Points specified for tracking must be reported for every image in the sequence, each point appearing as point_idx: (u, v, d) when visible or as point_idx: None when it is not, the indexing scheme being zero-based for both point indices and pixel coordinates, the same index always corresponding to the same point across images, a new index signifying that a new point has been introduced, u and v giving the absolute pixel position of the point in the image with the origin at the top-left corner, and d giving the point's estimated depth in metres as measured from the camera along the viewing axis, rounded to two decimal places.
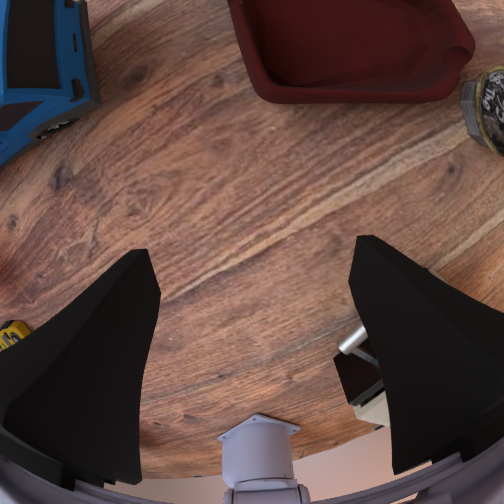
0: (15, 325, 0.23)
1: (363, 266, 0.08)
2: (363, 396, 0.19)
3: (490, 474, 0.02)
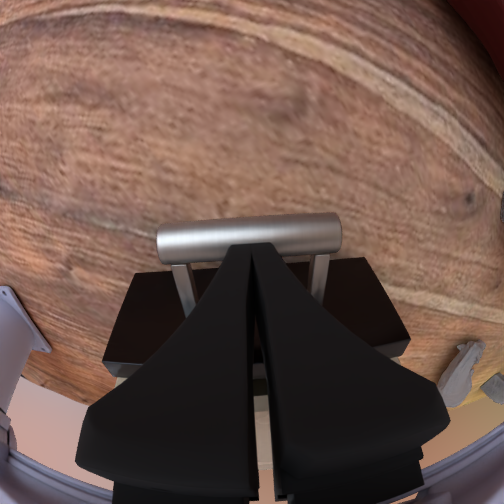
0: None
1: None
2: (135, 370, 0.09)
3: (490, 474, 0.02)
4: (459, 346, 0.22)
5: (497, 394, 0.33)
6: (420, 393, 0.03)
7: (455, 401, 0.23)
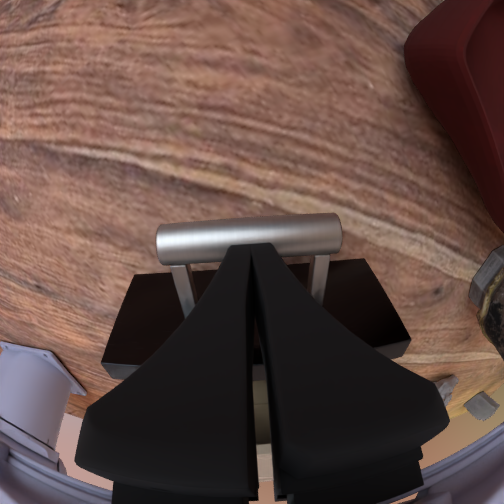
0: None
1: (252, 274, 0.08)
2: None
3: (490, 474, 0.02)
4: None
5: (479, 412, 0.37)
6: (419, 394, 0.03)
7: None
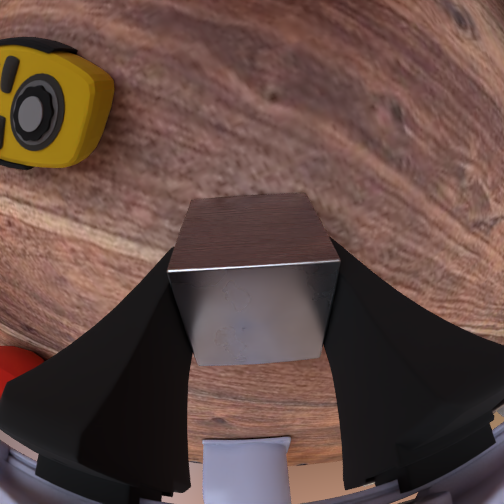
0: (89, 70, 0.06)
1: None
2: None
3: (490, 474, 0.02)
4: None
5: None
6: None
7: None
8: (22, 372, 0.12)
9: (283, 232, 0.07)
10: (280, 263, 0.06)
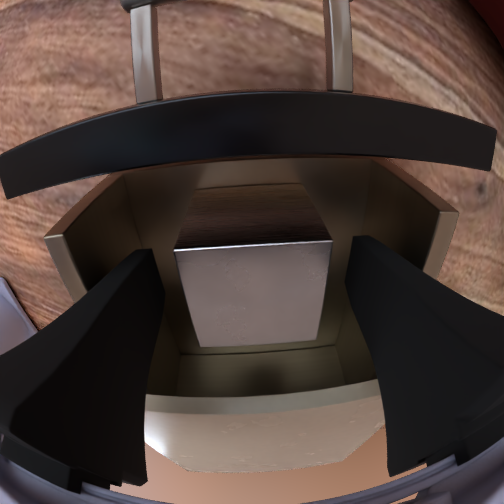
0: None
1: (358, 266, 0.08)
2: (30, 159, 0.04)
3: (490, 474, 0.02)
4: None
5: None
6: None
7: None
8: None
9: (281, 217, 0.08)
10: (277, 243, 0.07)
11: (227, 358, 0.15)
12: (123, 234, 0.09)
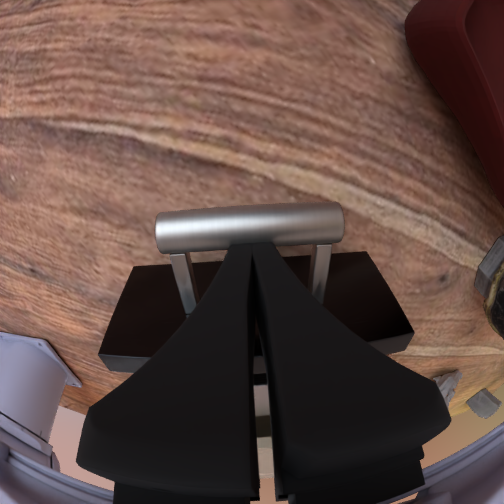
0: None
1: (253, 274, 0.08)
2: (131, 363, 0.09)
3: (490, 474, 0.02)
4: (435, 378, 0.25)
5: (481, 409, 0.36)
6: (421, 393, 0.03)
7: None
8: None
9: None
10: None
11: None
12: None
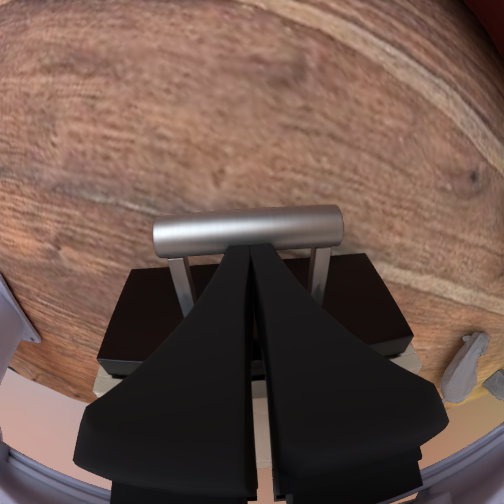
0: None
1: None
2: (130, 367, 0.09)
3: (490, 474, 0.02)
4: (464, 337, 0.21)
5: (499, 391, 0.32)
6: (418, 394, 0.03)
7: (460, 396, 0.22)
8: None
9: None
10: None
11: None
12: None
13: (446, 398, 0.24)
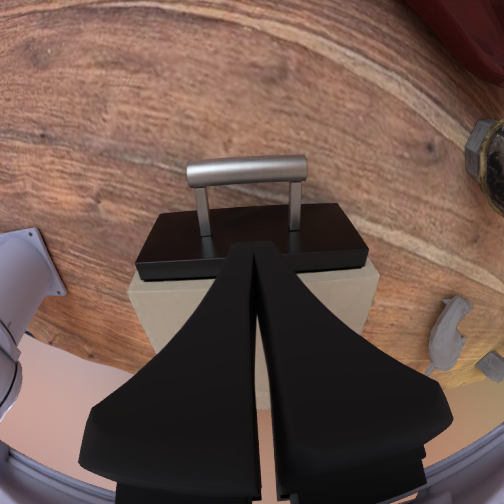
0: None
1: None
2: (160, 268, 0.14)
3: (490, 474, 0.02)
4: (445, 300, 0.25)
5: (492, 372, 0.36)
6: (423, 393, 0.03)
7: (447, 361, 0.26)
8: None
9: None
10: None
11: None
12: None
13: (434, 364, 0.29)
